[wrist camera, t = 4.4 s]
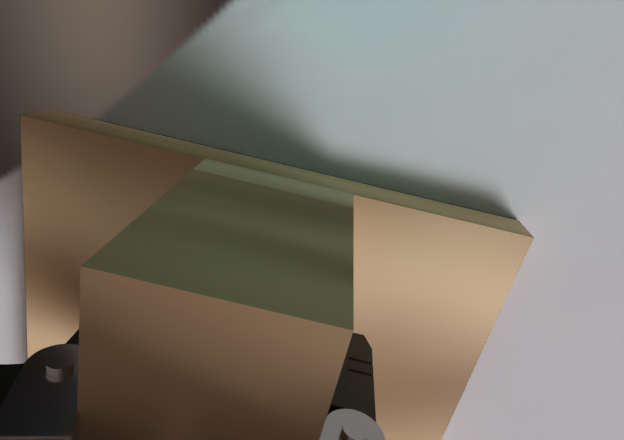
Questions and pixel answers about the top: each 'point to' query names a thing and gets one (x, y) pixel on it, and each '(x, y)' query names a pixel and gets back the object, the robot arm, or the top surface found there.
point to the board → (367, 256)
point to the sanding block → (219, 312)
